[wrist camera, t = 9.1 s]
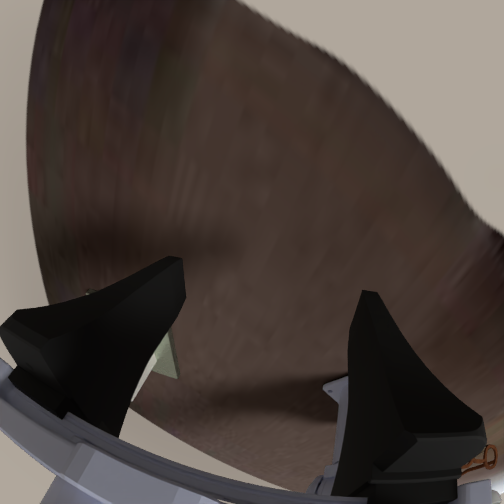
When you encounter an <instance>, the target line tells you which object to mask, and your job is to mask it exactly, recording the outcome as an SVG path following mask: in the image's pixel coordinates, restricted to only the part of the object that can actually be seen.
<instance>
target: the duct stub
mask: <svg viewBox="0 0 504 504" xmlns="http://www.w3.org/2000/svg"><path fill="white" fill-rule="evenodd" d="M94 292H96V290H92V289H89V290H88V291H87V292H86V295H88V294H91V293H94ZM154 353H155V357H156V360H157V362H156V363H155V365H154V366H153V368H152V371H155V372H157V373H160V374H163V375H166V376H169V377H173V378H176V379H178V377H179V376H180V371H179V366H178V361H177V356H176V351H175V346H174V341H173V335H172V330H171V327H170V329H169V331H168V332H167V334H166V335H165V337H164V338H163V340H162V341H161V343H160V344H159V346H158V347H157V349H156V350H155V352H154Z"/></svg>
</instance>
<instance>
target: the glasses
mask: <svg viewBox="0 0 504 504" xmlns="http://www.w3.org/2000/svg"><path fill="white" fill-rule="evenodd" d="M489 448H492V449H493V450H494V455H495V459H494V460H493V461H490V462H487V451H488V449H489ZM497 457H498V454H497V449H496V447H495V446H494V445H488V446H486V448H485V451H484V456H483V460H480V459H475V458H473V459H472V460H470V461H469V462H468V464H467V465H463V466H462V467H461V468H463V469H465V468H468V467H469V466H470V465H471V464H472V463H483V464H482V465H479V466H475V467H472V468H469V469H467V470H465V471H463V472H462V475H464V474H465V473H467V472H469V471H473V470H476V469H479V468H482V467H486V469H489V470H490V469H493V468H494V467H495V466H496V463H497ZM491 464H493V465H492V466H489V465H491ZM462 475H461V476H462Z"/></svg>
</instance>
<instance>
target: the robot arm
mask: <svg viewBox="0 0 504 504" xmlns="http://www.w3.org/2000/svg"><path fill="white" fill-rule="evenodd" d="M185 299H186V291H185V281H184V271H183V260H182V258H178V257H173V256H168V257H165V258H163V259H161V260H159V261H157V262H155V263H153V264H151V265H150V266H148V267H146V268H144V269H142V270H140V271H138V272H136V273H135V274H133V275H131V276H129V277H127V278H125V279H123V280H121V281H119V282H116V283H114V284H112V285H110V286H108V287H106V288H104V289H101V290H99V291H96V292H94V293H91V294H88V295H85V296H82V297H79V298H76V299H73V300H69V301H66V302H62V303H58V304H54V305H49V306H44V307H37V308H29V309H20V310H16V311H15V312H14V313H13V314H12V315H11V316H10V317H9V318H8V319H7V320H6V321H5V322H4V323H3V324H2V325H1V326H0V337H1V339H2V341H3V343H4V344H5V346H6V348H7V350H8V351H9V353H10V354H11V356H12V358H13V359H14V360H15V362H16V364H17V366H16V368H15V369H13V368H12V367H11V366H10V365H9V364H8V363H6V362H5V361H4V360H3V359H1V358H0V430H1V431H2V432H3V433H4V434H5V435H7V436H8V437H9V438H10V439H11V440H12V441H13V442H14V443H15V444H17V445H18V446H19V447H20V448H21V449H23V450H24V451H25V452H26V453H28V454H29V455H30V456H31V457H32V458H34V459H35V460H36V461H38V462H39V463H40V464H41V465H43V466H44V467H46V468H47V469H48V470H50V471H51V472H52V473H54V474H55V475H56V477H55V479H54V481H53V482H52V484H51V486H50V488H49V489H48V491H47V493H46V494H45V496H44V498H43V499H42V501H41V503H40V504H226V503H223V502H220V501H219V500H223V501H227V502H231V503H235V504H492V490H491V480H490V479H486V480H481V481H476V482H471V483H466V484H463V485H460V486H457V479H459V478H460V477H461V475H462V472H461V467H462V466H463V465H465V464H466V463H468V462H469V461H470V460H472V459H473V458H474V457H476V456H477V455H478V454H479V453H480V452H481V451H482V450H483V449H484V447H485V446H486V444H487V438H486V432H485V427H484V422H483V418H482V416H480V415H479V414H478V413H476V412H475V411H474V410H472V409H471V408H470V407H468V406H467V405H466V404H464V403H463V402H462V401H461V400H459V399H458V398H457V397H456V396H455V395H454V394H453V393H451V392H450V391H449V390H448V389H447V388H446V387H445V386H444V385H443V384H442V383H441V382H440V381H439V380H438V379H437V378H436V377H435V376H434V375H433V374H432V372H431V371H430V370H429V369H428V368H427V367H426V366H425V364H424V363H423V362H422V361H421V359H420V358H419V357H418V356H417V354H416V353H415V352H414V350H413V349H412V348H411V346H410V345H409V343H408V342H407V340H406V339H405V338H404V336H403V334H402V333H401V331H400V330H399V328H398V326H397V325H396V323H395V322H394V320H393V318H392V317H391V315H390V313H389V311H388V310H387V308H386V306H385V304H384V303H383V301H382V299H381V297H380V296H379V294H378V292H372V291H366V290H362V293H361V296H360V299H359V302H358V305H357V309H356V312H355V315H354V318H353V321H352V323H351V326H350V331H349V341H348V376H346V377H343V378H341V379H338V380H335V381H332V382H329V383H327V384H324V385H323V390H324V391H325V392H326V393H327V394H328V395H329V396H331V397H332V398H333V399H334V400H335V401H336V402H337V403H338V404H339V408H338V419H337V429H336V438H335V446H334V454H333V461H332V465H327V466H325V471H324V475H320V476H318V477H316V478H315V479H314V481H313V482H312V483H311V484H310V485H309V487H308V489H307V491H306V493H300V492H293V491H287V490H280V489H275V488H269V487H263V486H259V485H254V484H250V483H245V482H241V481H237V480H233V479H229V478H225V477H221V476H217V475H214V474H211V473H207V472H204V471H201V470H197V469H194V468H191V467H188V466H185V465H182V464H179V463H177V462H174V461H171V460H168V459H166V458H163V457H161V456H158V455H155V454H153V453H150V452H148V451H145V450H143V449H141V448H139V447H136V446H134V445H132V444H130V443H127V442H125V441H123V440H121V439H119V435H120V431H121V428H122V425H123V422H124V419H125V416H126V413H127V410H128V408H129V405H130V402H131V400H132V397H133V395H134V392H135V390H136V388H137V385H138V383H139V381H140V379H141V377H142V374H143V372H144V370H145V368H146V366H147V364H148V362H149V360H150V359H151V357H152V355H153V354H154V352H155V350H156V349H157V347H158V346H159V344H160V343H161V341H162V340H163V338H164V337H165V335H166V334H167V332H168V331H169V329H170V327H171V326H172V324H173V323H174V321H175V320H176V318H177V316H178V314H179V312H180V310H181V308H182V306H183V303H184V301H185ZM217 499H219V500H217Z"/></svg>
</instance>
